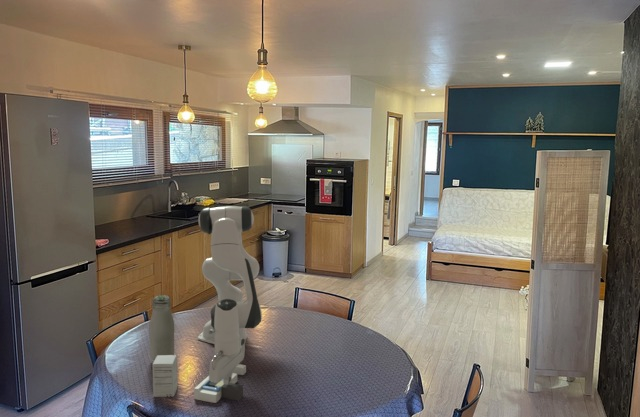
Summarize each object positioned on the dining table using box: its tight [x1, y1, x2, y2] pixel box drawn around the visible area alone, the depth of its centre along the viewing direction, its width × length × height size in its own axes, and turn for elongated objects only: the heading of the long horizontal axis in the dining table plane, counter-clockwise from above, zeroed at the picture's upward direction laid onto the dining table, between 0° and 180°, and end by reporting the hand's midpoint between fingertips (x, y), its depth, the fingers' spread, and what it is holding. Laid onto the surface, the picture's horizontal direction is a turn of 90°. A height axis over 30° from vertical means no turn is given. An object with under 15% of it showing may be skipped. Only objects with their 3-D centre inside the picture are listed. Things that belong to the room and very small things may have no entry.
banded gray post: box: [208, 381, 244, 401], centre depth 173 cm, size 12×4×4 cm, turn 73°
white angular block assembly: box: [193, 363, 247, 404], centre depth 180 cm, size 8×24×5 cm, turn 163°
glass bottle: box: [148, 294, 175, 362], centre depth 198 cm, size 10×10×28 cm
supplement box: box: [151, 354, 179, 398], centre depth 174 cm, size 7×7×13 cm
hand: (227, 382), depth 172 cm, fingers closed
